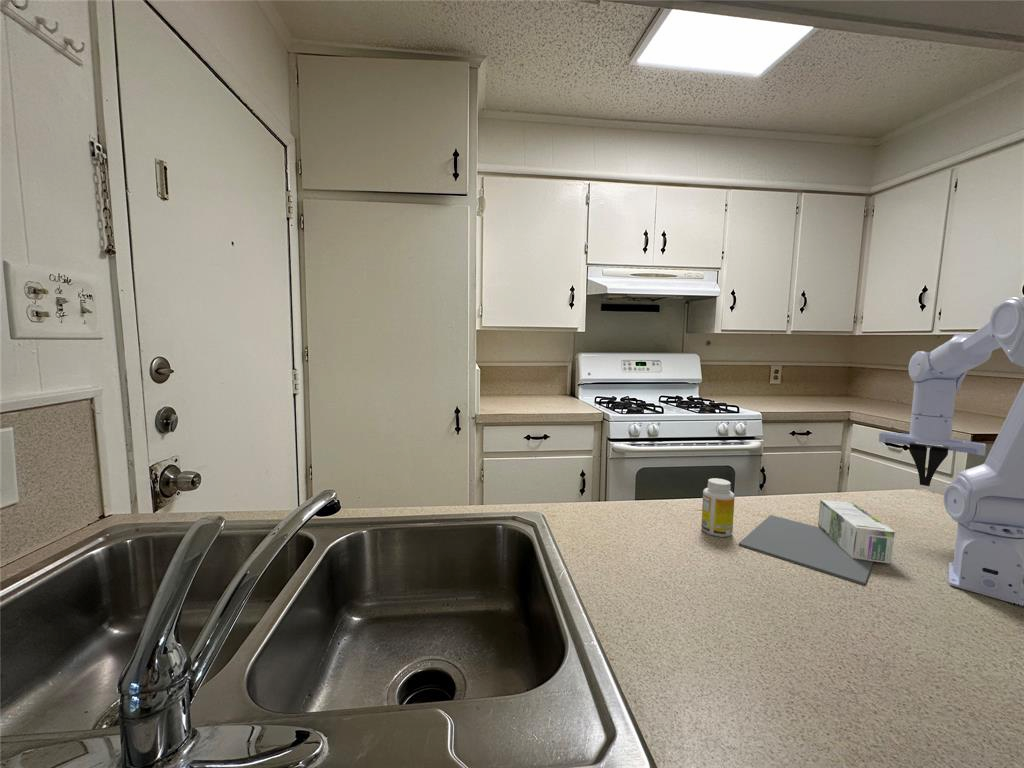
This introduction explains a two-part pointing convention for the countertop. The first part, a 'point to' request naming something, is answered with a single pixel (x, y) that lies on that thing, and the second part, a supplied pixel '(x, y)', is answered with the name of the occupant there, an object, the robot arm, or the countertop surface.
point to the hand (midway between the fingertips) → (924, 484)
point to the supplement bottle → (718, 508)
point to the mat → (806, 548)
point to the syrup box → (856, 531)
